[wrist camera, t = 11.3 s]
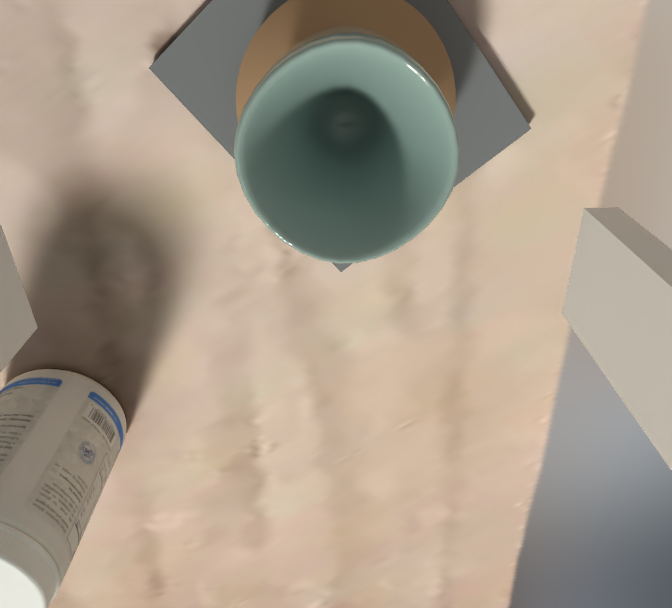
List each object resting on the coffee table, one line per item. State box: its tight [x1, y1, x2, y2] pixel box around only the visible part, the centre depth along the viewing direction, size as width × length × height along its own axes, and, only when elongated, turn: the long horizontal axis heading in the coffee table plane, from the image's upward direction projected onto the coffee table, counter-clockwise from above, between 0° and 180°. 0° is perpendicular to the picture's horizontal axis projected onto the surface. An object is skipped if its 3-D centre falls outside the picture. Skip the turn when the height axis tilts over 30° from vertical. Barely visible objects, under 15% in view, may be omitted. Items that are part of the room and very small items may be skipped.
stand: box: [149, 0, 531, 272], centre depth 29 cm, size 16×14×4 cm
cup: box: [234, 25, 460, 263], centre depth 23 cm, size 8×8×10 cm
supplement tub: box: [0, 369, 126, 608], centre depth 36 cm, size 10×10×15 cm
